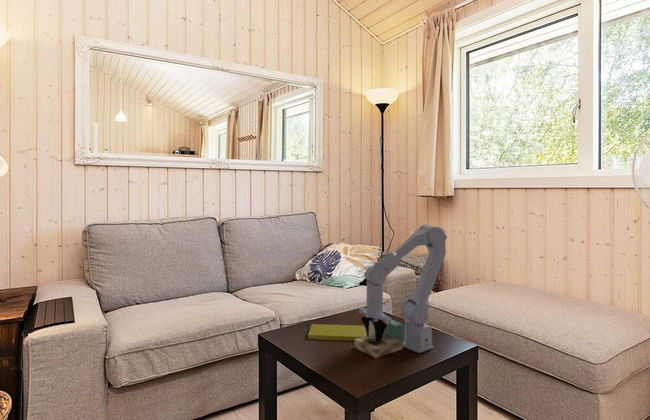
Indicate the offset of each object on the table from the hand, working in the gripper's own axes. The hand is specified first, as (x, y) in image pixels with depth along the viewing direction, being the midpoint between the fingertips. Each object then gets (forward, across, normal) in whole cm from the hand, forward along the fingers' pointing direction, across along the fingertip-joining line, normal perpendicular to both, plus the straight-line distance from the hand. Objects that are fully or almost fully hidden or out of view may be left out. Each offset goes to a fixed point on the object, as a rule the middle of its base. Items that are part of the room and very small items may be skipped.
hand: (374, 338), depth 141 cm
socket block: (+4, 0, +2) cm, 4 cm away
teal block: (+1, 0, +7) cm, 7 cm away
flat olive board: (+5, -18, -1) cm, 19 cm away
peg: (+2, 0, 0) cm, 3 cm away
